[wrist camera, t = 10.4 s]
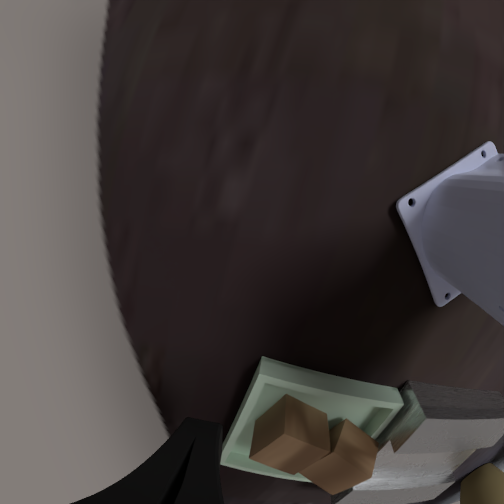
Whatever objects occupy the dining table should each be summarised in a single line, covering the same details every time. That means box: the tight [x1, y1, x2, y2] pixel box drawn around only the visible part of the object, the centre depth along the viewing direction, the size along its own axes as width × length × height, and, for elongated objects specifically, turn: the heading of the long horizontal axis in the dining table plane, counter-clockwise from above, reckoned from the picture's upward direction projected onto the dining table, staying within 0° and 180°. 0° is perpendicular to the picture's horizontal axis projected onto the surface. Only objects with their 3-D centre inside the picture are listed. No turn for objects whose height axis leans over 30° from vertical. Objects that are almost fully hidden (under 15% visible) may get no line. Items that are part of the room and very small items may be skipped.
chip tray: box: [220, 356, 404, 482], centre depth 19 cm, size 11×12×2 cm
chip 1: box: [249, 394, 331, 475], centre depth 17 cm, size 4×4×4 cm
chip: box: [298, 418, 379, 495], centre depth 17 cm, size 4×4×4 cm
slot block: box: [331, 380, 504, 504], centre depth 17 cm, size 14×14×4 cm
